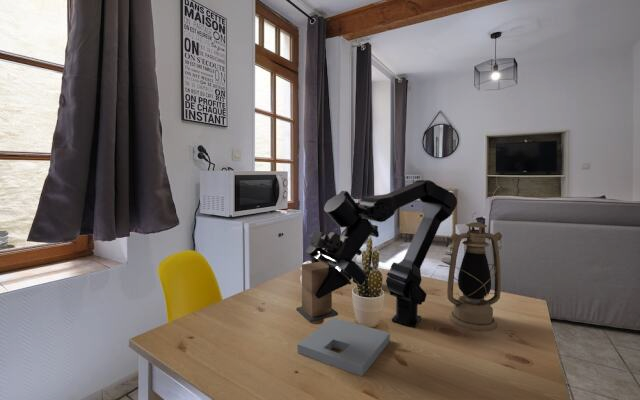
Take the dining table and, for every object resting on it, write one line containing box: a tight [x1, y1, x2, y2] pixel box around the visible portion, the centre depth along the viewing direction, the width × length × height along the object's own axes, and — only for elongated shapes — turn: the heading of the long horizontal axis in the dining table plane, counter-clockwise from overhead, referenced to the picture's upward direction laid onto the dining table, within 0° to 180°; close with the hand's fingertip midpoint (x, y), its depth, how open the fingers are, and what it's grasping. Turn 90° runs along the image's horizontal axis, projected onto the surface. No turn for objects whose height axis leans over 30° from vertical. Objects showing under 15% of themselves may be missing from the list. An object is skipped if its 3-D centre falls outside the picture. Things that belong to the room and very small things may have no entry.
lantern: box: [446, 212, 503, 332], centre depth 87 cm, size 14×12×30 cm
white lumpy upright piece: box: [299, 260, 312, 289], centre depth 113 cm, size 6×8×12 cm
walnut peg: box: [295, 262, 339, 325], centre depth 73 cm, size 7×7×13 cm
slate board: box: [296, 316, 391, 377], centre depth 75 cm, size 16×16×2 cm
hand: (311, 293), depth 72 cm, fingers closed on walnut peg, 5 cm apart
